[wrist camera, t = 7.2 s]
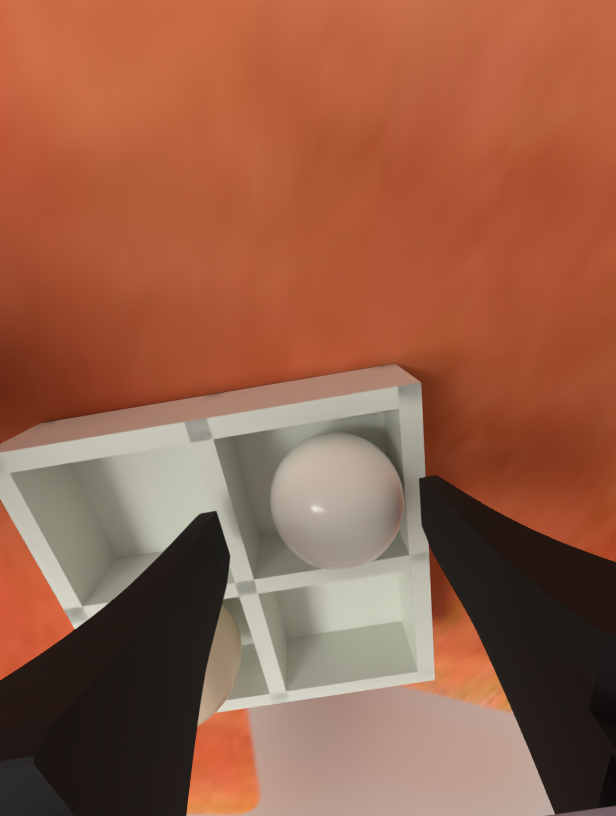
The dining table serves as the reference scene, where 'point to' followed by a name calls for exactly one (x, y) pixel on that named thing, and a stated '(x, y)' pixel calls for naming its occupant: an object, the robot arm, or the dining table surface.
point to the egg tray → (236, 524)
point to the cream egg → (337, 501)
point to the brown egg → (221, 665)
